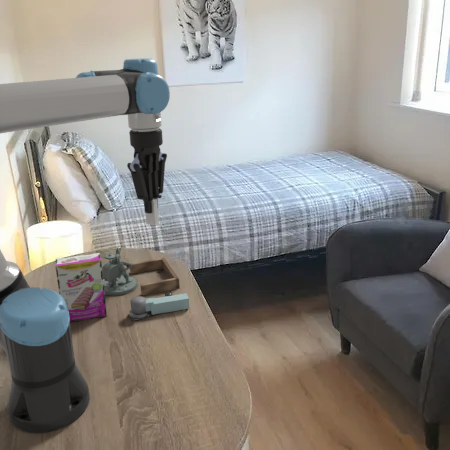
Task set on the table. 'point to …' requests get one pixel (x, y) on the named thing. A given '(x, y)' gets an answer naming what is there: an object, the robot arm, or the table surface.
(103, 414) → the table surface
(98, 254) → the candy bar box
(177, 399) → the table surface
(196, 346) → the table surface
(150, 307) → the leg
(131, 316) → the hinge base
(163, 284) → the seat frame
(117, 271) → the figurine
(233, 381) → the table surface
